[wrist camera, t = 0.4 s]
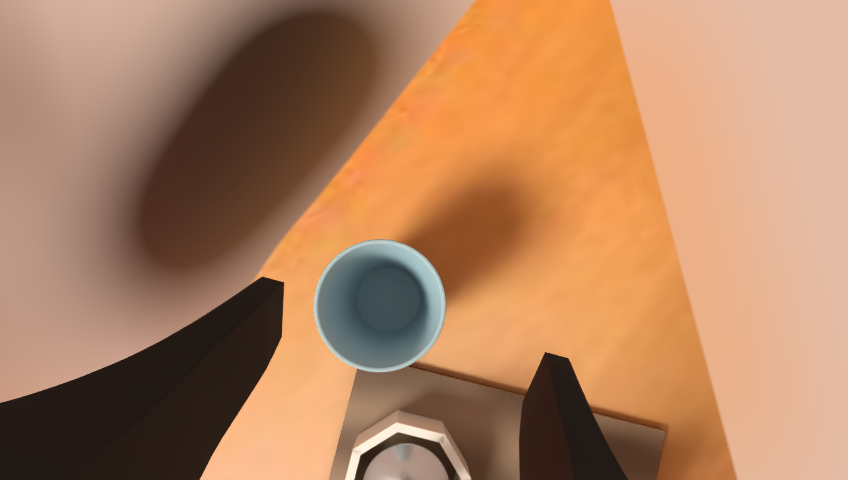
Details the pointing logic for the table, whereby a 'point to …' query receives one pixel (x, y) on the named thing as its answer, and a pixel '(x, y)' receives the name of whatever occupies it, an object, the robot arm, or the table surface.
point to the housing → (409, 426)
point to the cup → (380, 305)
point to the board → (471, 425)
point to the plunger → (406, 464)
